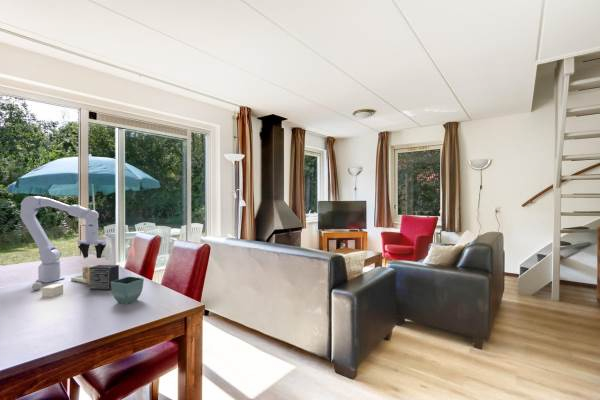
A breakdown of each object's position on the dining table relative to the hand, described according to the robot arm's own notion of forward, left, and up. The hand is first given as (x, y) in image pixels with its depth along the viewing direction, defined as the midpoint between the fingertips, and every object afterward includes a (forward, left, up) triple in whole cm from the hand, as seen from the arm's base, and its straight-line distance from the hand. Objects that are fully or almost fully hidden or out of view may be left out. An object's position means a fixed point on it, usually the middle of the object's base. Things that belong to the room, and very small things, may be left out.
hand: (92, 257), depth 159 cm
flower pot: (+52, -19, -10) cm, 56 cm away
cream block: (+14, -26, -10) cm, 31 cm away
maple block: (+5, -4, -9) cm, 11 cm away
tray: (+5, -4, -10) cm, 12 cm away
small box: (+26, -11, -10) cm, 30 cm away
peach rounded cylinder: (+14, -9, -10) cm, 19 cm away
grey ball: (0, -25, -8) cm, 26 cm away
